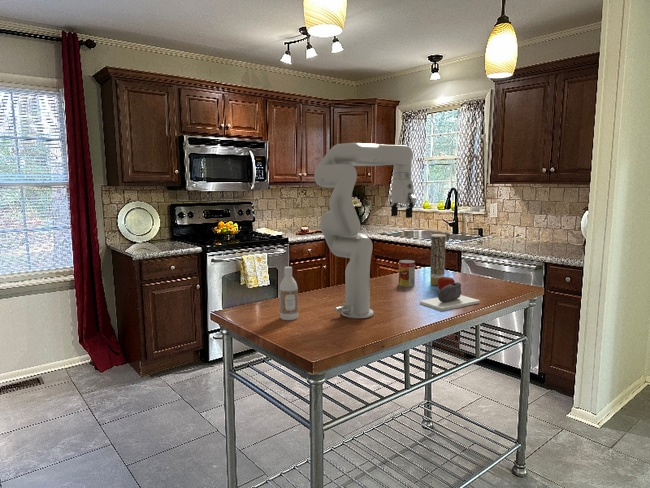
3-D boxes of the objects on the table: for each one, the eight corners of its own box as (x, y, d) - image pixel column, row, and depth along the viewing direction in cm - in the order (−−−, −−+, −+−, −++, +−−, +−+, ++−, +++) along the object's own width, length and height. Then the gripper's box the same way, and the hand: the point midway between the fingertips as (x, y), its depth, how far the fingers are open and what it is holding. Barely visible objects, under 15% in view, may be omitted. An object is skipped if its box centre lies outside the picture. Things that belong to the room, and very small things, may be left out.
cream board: (441, 311, 184) (441, 308, 184) (419, 303, 195) (419, 300, 195) (479, 303, 195) (479, 300, 195) (456, 296, 206) (456, 293, 206)
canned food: (402, 282, 235) (403, 259, 233) (417, 284, 230) (417, 260, 228) (395, 285, 228) (396, 261, 227) (410, 287, 224) (410, 263, 222)
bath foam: (281, 321, 173) (280, 269, 170) (279, 316, 179) (277, 265, 176) (299, 320, 174) (298, 268, 171) (296, 314, 181) (295, 264, 178)
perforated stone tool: (443, 305, 188) (443, 288, 187) (433, 302, 192) (433, 286, 191) (464, 298, 198) (465, 283, 197) (454, 296, 202) (454, 281, 201)
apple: (453, 290, 217) (453, 274, 215) (456, 295, 209) (456, 278, 208) (436, 290, 217) (436, 274, 216) (438, 294, 210) (439, 278, 208)
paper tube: (444, 286, 225) (446, 236, 221) (430, 286, 226) (431, 235, 223) (443, 283, 232) (445, 234, 228) (430, 282, 233) (431, 234, 229)
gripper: (422, 176, 191) (421, 217, 194) (396, 177, 206) (395, 215, 208) (408, 176, 187) (408, 218, 190) (382, 177, 202) (382, 215, 205)
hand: (401, 216), depth 199 cm, fingers open, 9 cm apart
